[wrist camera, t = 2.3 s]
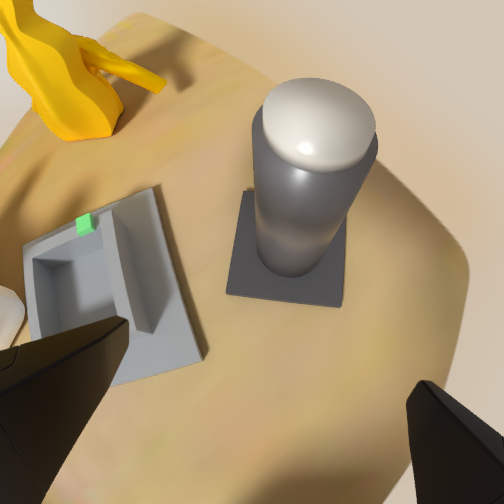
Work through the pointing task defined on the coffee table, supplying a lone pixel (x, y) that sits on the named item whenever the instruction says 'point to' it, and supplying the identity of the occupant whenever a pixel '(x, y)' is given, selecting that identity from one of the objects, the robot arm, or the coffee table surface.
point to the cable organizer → (9, 316)
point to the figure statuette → (66, 73)
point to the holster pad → (277, 287)
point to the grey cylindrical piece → (307, 169)
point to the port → (113, 285)
